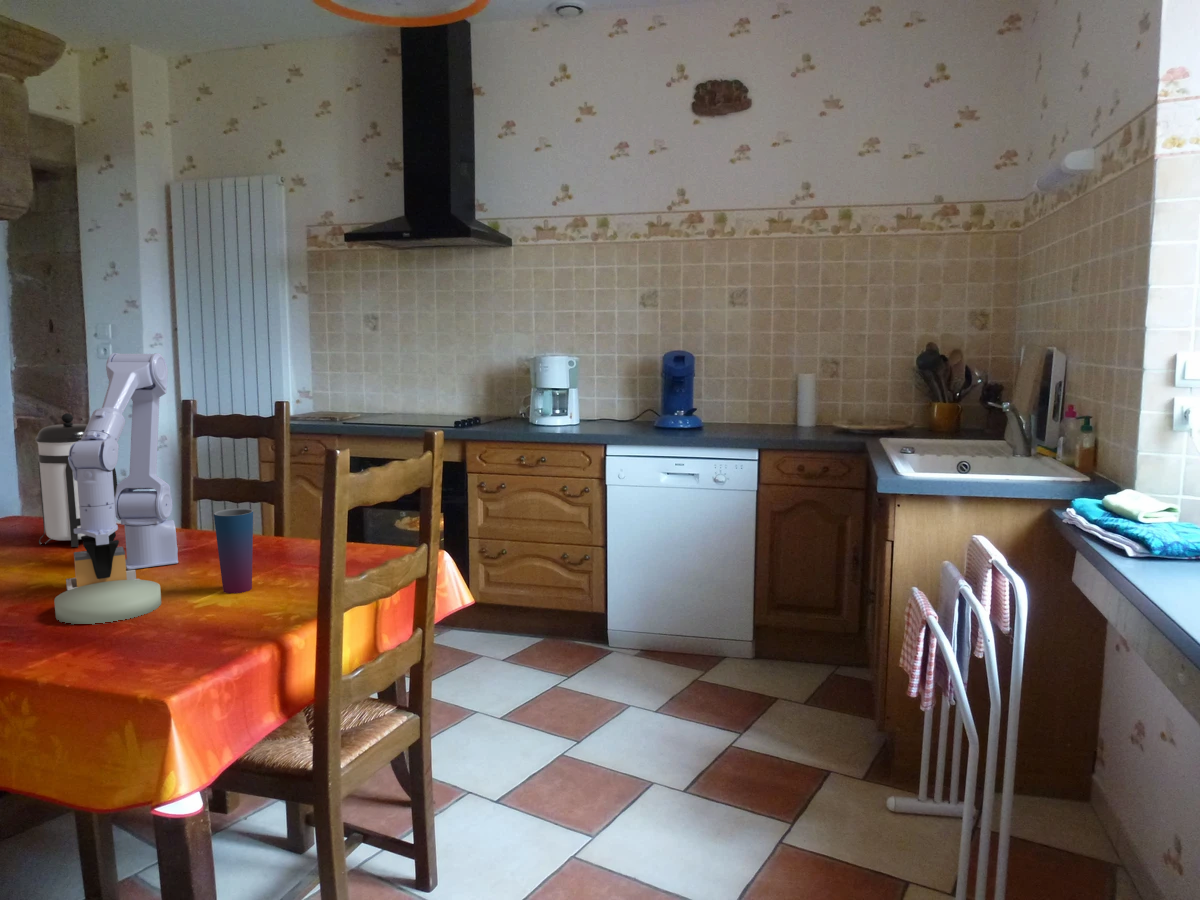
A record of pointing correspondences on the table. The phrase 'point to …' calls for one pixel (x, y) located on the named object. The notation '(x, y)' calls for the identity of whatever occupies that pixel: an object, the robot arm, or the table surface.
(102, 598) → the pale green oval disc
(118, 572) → the rectangular flat-faced block
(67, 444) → the coffee press
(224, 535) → the cup
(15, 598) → the table surface
